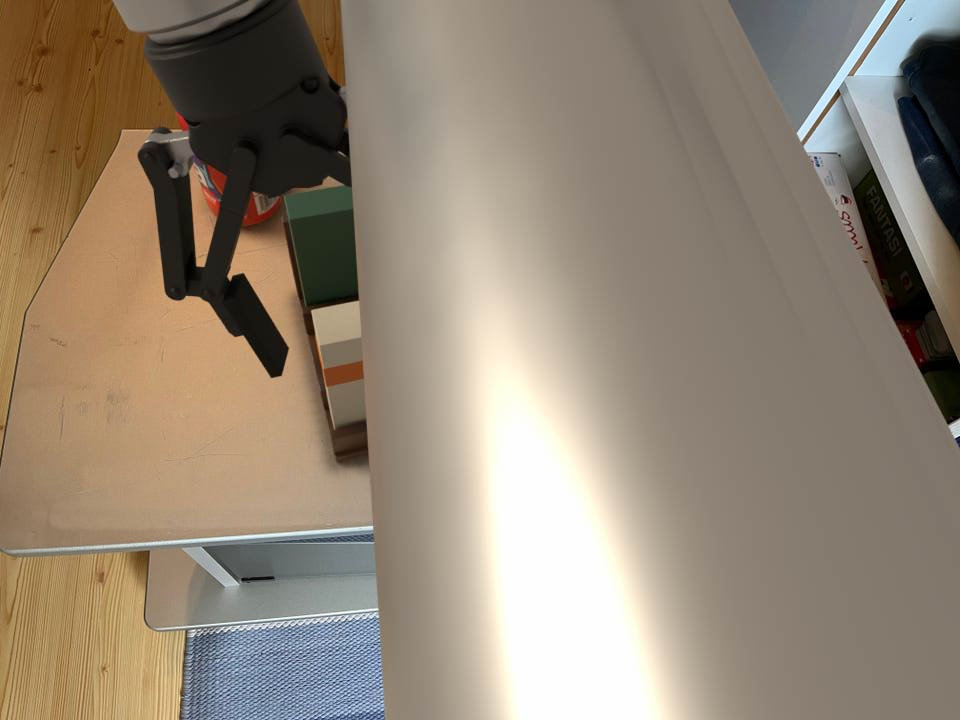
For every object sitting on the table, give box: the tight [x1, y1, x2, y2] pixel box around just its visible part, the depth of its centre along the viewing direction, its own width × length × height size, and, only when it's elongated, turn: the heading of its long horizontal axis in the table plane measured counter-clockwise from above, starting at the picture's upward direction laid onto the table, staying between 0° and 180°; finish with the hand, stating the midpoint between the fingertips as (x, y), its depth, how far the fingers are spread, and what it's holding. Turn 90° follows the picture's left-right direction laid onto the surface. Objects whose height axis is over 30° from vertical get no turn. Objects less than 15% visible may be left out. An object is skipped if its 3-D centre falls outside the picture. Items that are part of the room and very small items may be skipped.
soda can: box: [176, 112, 283, 227], centre depth 73 cm, size 8×8×15 cm
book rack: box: [280, 214, 369, 463], centre depth 67 cm, size 18×12×13 cm, turn 17°
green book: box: [283, 184, 359, 307], centre depth 67 cm, size 3×11×16 cm, turn 107°
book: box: [311, 301, 367, 430], centre depth 61 cm, size 3×11×18 cm, turn 107°
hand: (377, 342), depth 48 cm, fingers open, 13 cm apart
